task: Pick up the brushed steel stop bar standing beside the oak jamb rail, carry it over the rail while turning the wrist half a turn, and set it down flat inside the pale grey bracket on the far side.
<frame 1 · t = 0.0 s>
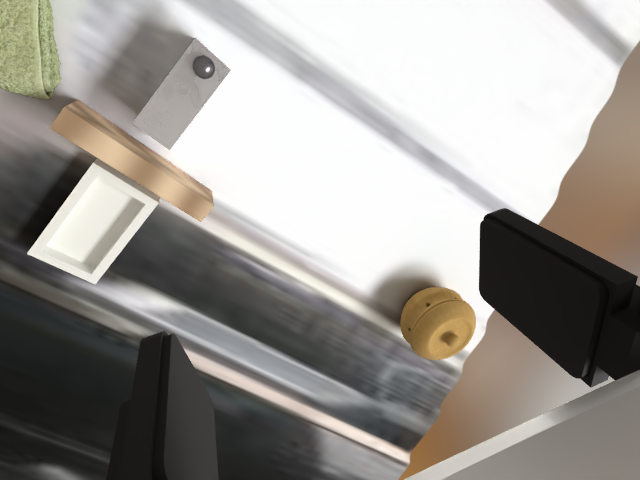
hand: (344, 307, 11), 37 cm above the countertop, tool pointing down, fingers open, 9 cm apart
jamb rail: (145, 158, 42), on the countertop
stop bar: (182, 91, 40), on the countertop
bracket: (97, 221, 43), on the countertop
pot: (421, 305, 66), on the countertop
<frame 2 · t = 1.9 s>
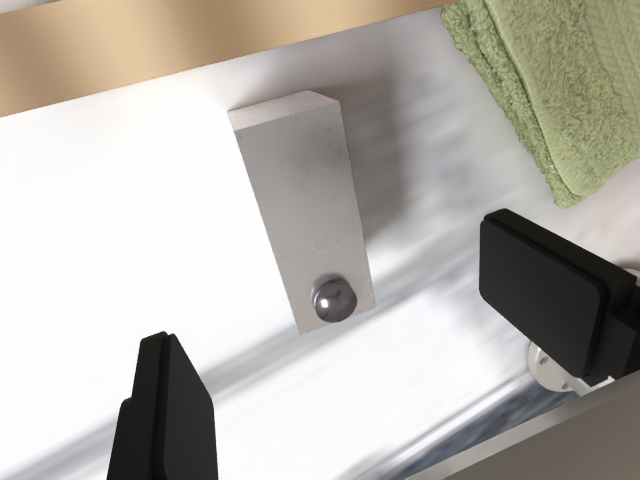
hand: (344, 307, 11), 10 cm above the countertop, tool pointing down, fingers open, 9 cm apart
jamb rail: (222, 24, 16), on the countertop
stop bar: (293, 195, 20), on the countertop
washcloth: (577, 34, 21), on the countertop
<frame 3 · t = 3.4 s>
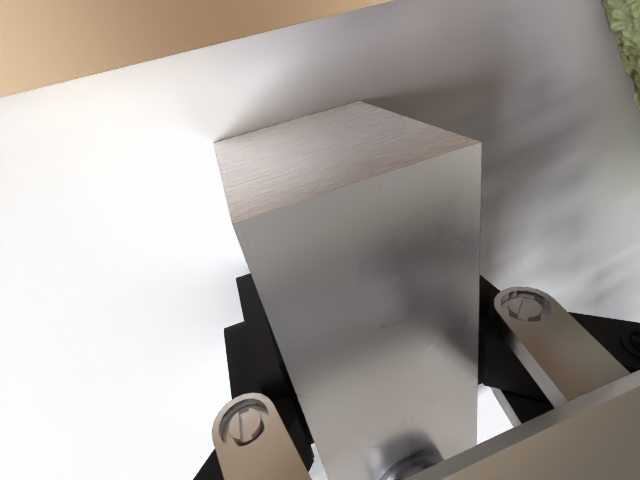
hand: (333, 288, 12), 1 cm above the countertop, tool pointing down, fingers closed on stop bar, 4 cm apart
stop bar: (325, 273, 12), on the countertop, touching gripper
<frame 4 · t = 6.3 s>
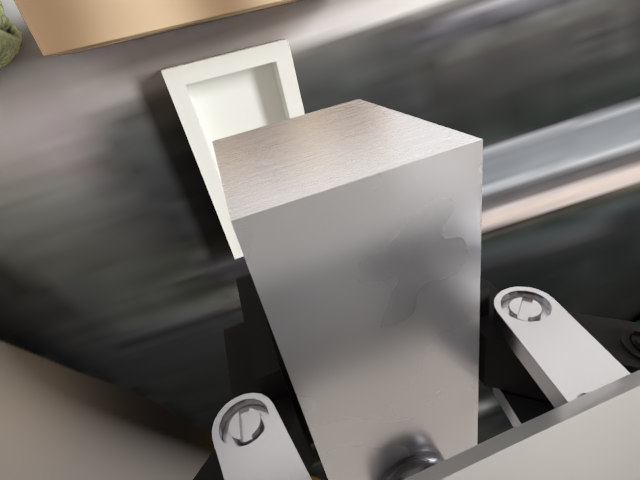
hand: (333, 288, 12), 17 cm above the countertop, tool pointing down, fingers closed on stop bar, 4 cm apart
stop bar: (325, 272, 12), point 16 cm above the countertop, touching gripper
bracket: (254, 154, 26), on the countertop
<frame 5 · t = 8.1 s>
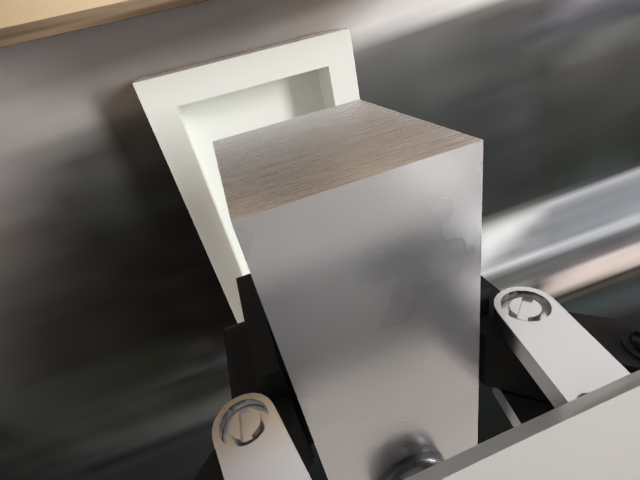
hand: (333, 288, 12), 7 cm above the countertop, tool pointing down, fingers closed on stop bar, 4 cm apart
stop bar: (325, 272, 12), point 6 cm above the countertop, touching gripper
bracket: (283, 205, 17), on the countertop
when the fingers open (2 cm above the countertop, at t = 9.3 s): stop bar drops 1 cm, resting on bracket.
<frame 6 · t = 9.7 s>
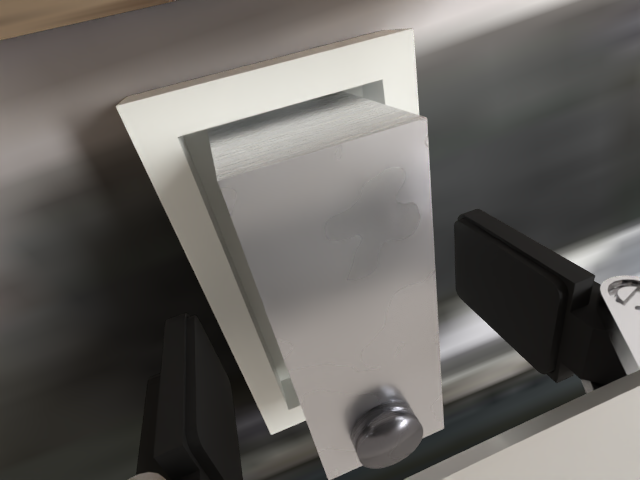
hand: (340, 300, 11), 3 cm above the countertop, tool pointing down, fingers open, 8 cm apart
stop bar: (310, 248, 13), resting on bracket
bracket: (311, 250, 14), on the countertop
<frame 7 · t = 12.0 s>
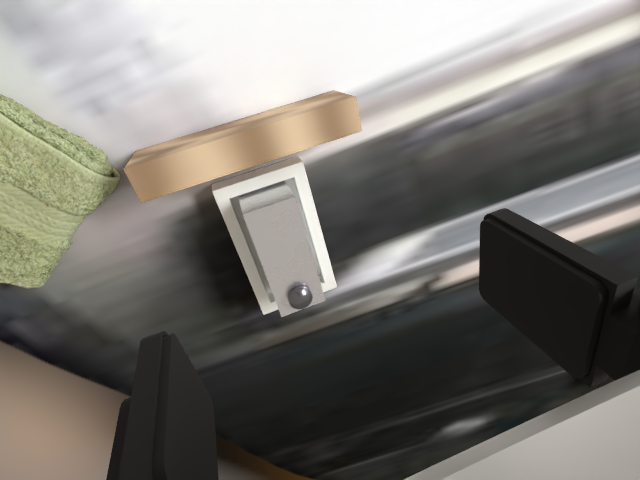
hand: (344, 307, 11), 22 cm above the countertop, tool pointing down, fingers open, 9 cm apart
jamb rail: (243, 134, 30), on the countertop
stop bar: (276, 234, 34), resting on bracket
bracket: (277, 235, 34), on the countertop
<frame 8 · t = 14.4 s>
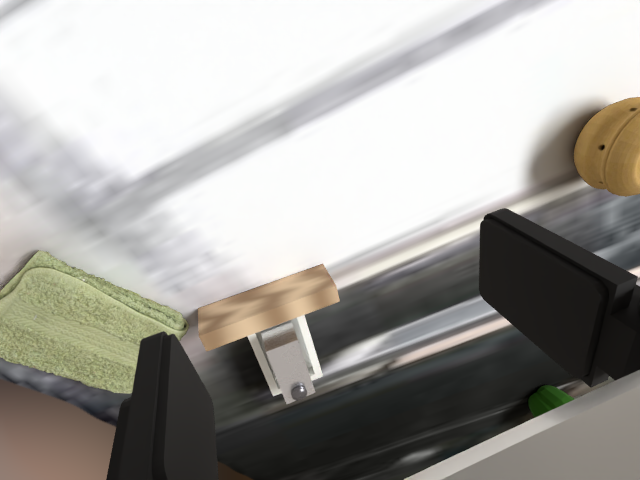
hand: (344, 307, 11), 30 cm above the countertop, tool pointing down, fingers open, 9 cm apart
jamb rail: (264, 293, 46), on the countertop
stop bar: (283, 346, 51), resting on bracket
bell pepper: (538, 393, 79), on the countertop
bracket: (284, 345, 51), on the countertop
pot: (593, 139, 52), on the countertop
washcloth: (91, 321, 42), on the countertop
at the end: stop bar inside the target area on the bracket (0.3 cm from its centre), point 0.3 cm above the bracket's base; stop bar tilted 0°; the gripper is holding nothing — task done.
